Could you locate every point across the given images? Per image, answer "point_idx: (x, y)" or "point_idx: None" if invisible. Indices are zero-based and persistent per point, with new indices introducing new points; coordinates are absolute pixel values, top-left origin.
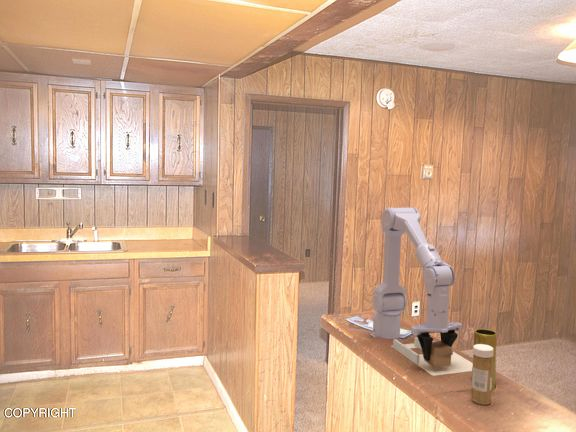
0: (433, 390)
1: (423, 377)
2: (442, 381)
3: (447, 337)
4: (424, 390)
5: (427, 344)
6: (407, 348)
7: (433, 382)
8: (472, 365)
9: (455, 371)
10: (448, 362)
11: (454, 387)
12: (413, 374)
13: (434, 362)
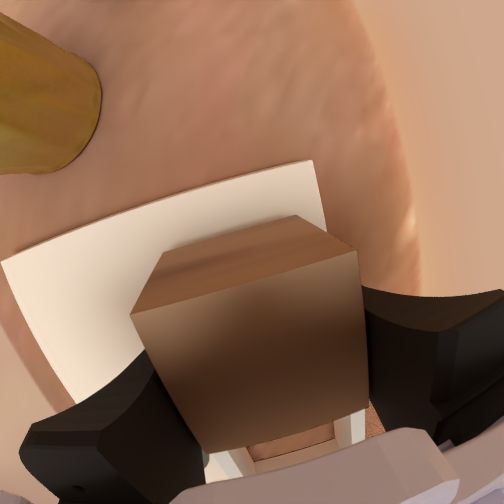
0: (329, 57)
1: (332, 214)
2: (244, 157)
3: (152, 455)
4: (370, 65)
5: (437, 299)
6: (360, 428)
7: (300, 146)
8: (37, 312)
9: (140, 226)
10: (179, 252)
11: (202, 79)
12: (366, 252)
13: (306, 222)
